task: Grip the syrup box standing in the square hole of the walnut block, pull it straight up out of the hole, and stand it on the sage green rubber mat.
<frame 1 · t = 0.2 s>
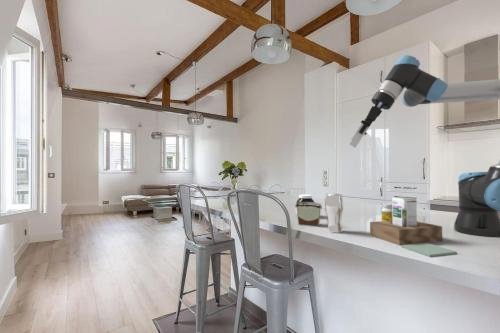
hand: (353, 143, 104), 35 cm above the counter, tool tilted 35°, fingers open, 13 cm apart
sage rubber mat: (428, 250, 83), on the counter
beer glass: (334, 231, 109), on the counter
syrup box: (404, 238, 97), resting in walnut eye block
food container: (310, 225, 123), on the counter
spread jar: (306, 216, 145), on the counter
supplement bottle: (388, 226, 118), on the counter
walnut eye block: (404, 238, 97), on the counter
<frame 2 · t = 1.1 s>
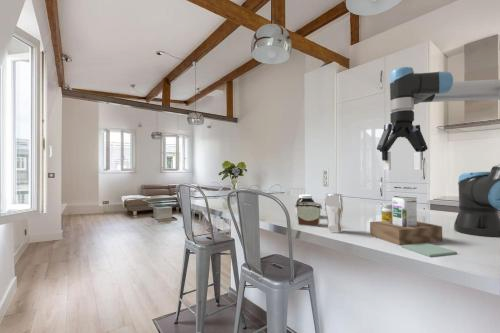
hand: (402, 169, 98), 25 cm above the counter, tool pointing down, fingers open, 13 cm apart
nothing on the counter moved.
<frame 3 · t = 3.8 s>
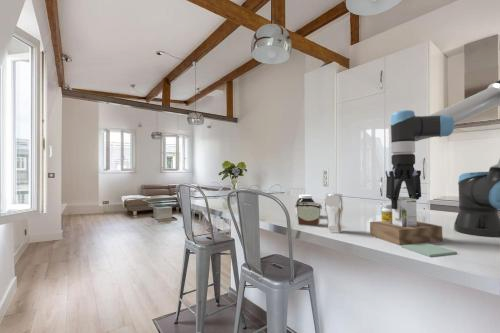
hand: (404, 217, 98), 7 cm above the counter, tool pointing down, fingers closed on syrup box, 6 cm apart
syrup box: (404, 238, 97), resting in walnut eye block, touching gripper
everything else where it was.
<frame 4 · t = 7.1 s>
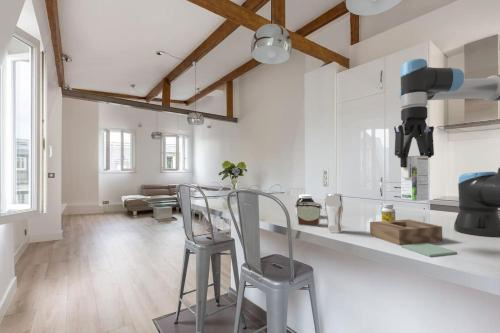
hand: (414, 177, 89), 22 cm above the counter, tool pointing down, fingers closed on syrup box, 6 cm apart
syrup box: (414, 200, 89), point 15 cm above the counter, touching gripper
everything else where it was.
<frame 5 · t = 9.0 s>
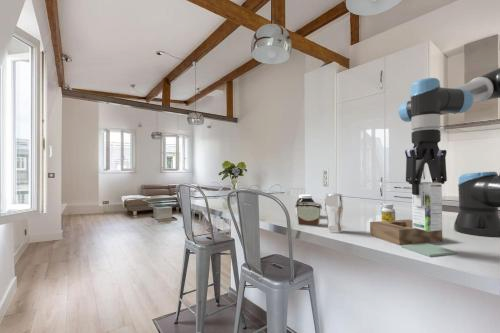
hand: (426, 205, 83), 14 cm above the counter, tool pointing down, fingers closed on syrup box, 6 cm apart
syrup box: (427, 229, 83), point 6 cm above the counter, touching gripper
everything else where it was.
when the fingers open (9 cm above the counter, at t = 10.6 s): syrup box drops 1 cm, resting on sage rubber mat.
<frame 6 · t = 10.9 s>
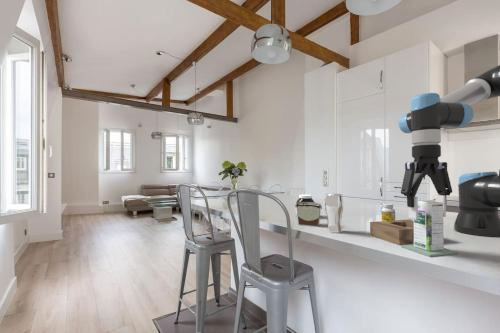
hand: (427, 217, 83), 10 cm above the counter, tool pointing down, fingers open, 10 cm apart
syrup box: (428, 248, 83), resting on sage rubber mat
everything else where it was.
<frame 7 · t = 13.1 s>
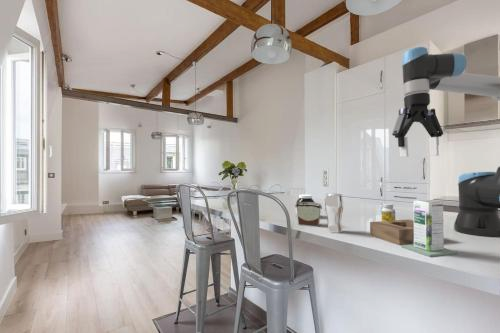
hand: (419, 156, 92), 29 cm above the counter, tool pointing down, fingers open, 13 cm apart
nothing on the counter moved.
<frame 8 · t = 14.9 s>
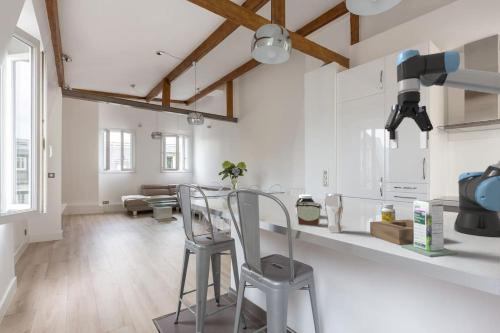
hand: (409, 148, 102), 33 cm above the counter, tool pointing down, fingers open, 13 cm apart
nothing on the counter moved.
at the end: syrup box inside the target area on the sage rubber mat (0.3 cm from its centre), point 0.4 cm above the sage rubber mat's base; syrup box tilted 0°; the gripper is holding nothing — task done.
